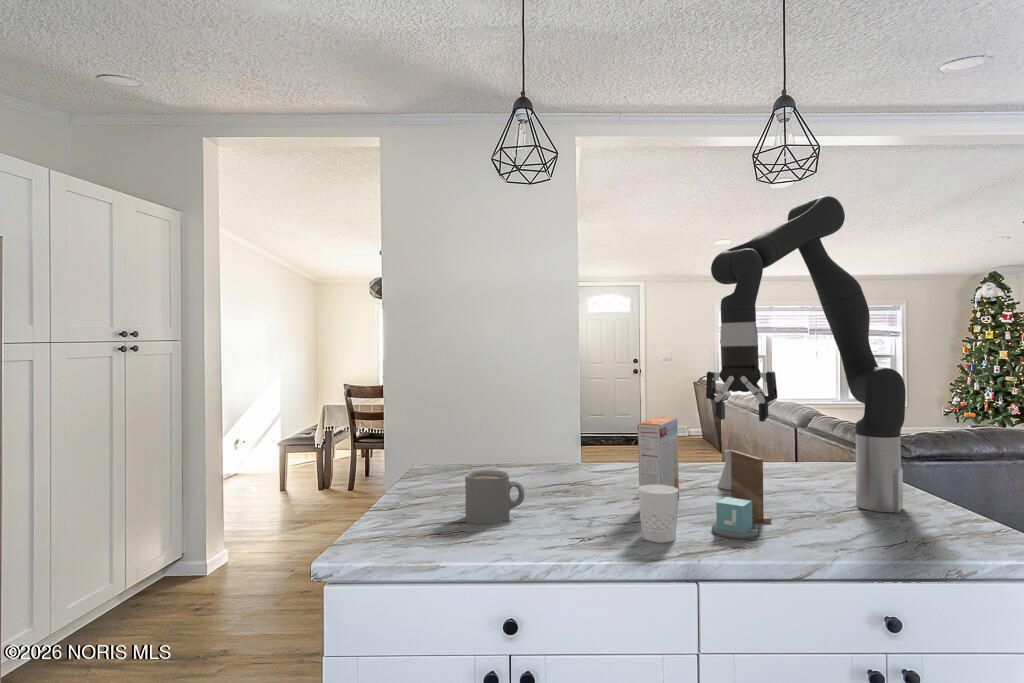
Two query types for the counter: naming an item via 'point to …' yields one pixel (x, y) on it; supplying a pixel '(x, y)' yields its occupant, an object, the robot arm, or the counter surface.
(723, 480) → the flask
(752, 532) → the coaster
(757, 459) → the wooden stand
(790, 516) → the counter surface
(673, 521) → the white cup
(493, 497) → the coffee mug
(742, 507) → the letter cube
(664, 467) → the cracker box
